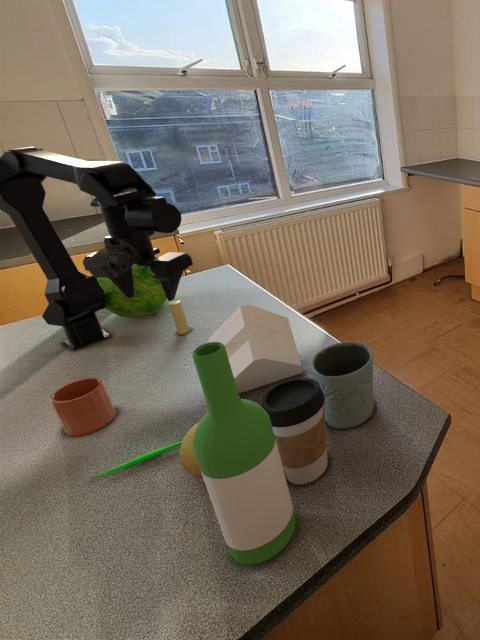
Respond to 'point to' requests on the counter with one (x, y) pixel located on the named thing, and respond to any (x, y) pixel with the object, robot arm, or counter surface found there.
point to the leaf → (142, 458)
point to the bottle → (240, 464)
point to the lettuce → (145, 294)
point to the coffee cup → (298, 427)
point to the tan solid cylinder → (179, 317)
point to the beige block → (258, 347)
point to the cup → (83, 406)
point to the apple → (189, 454)
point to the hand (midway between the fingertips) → (151, 298)
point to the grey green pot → (345, 383)
